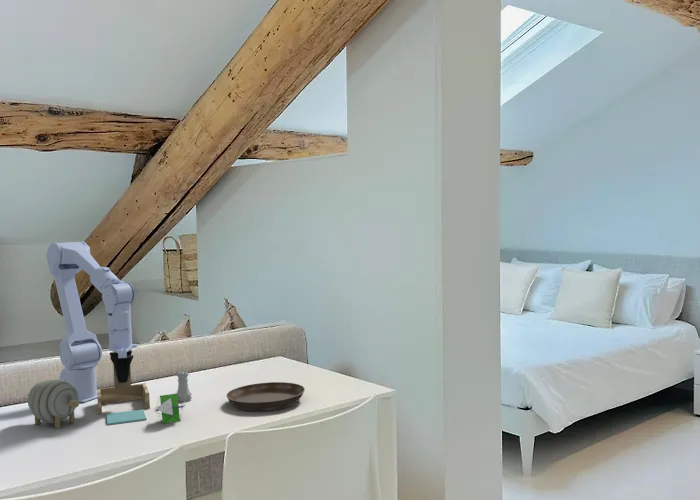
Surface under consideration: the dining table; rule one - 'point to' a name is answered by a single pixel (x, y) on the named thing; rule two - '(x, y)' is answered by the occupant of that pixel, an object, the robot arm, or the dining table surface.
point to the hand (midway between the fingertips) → (122, 380)
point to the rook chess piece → (183, 387)
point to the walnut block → (122, 385)
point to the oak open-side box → (122, 395)
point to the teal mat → (125, 417)
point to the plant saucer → (265, 396)
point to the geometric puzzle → (169, 408)
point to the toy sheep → (53, 401)
